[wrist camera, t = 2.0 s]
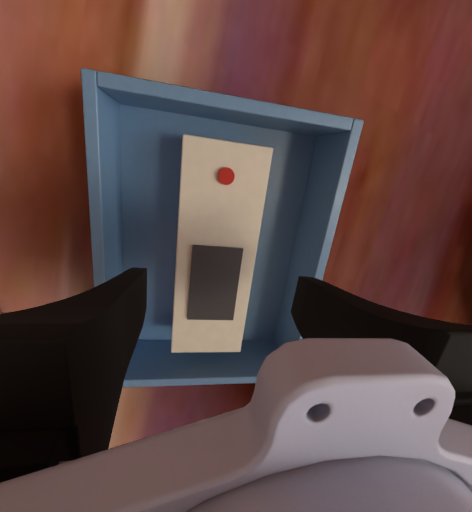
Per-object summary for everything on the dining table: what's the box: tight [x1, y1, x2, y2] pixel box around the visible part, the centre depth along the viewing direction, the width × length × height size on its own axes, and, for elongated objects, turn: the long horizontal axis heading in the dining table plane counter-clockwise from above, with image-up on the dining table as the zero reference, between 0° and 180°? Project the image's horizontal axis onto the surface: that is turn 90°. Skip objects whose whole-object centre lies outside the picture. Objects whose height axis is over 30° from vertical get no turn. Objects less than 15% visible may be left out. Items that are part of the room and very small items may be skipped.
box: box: [81, 68, 364, 387], centre depth 17 cm, size 13×17×4 cm
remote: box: [171, 134, 273, 353], centre depth 17 cm, size 5×14×3 cm, turn 172°
